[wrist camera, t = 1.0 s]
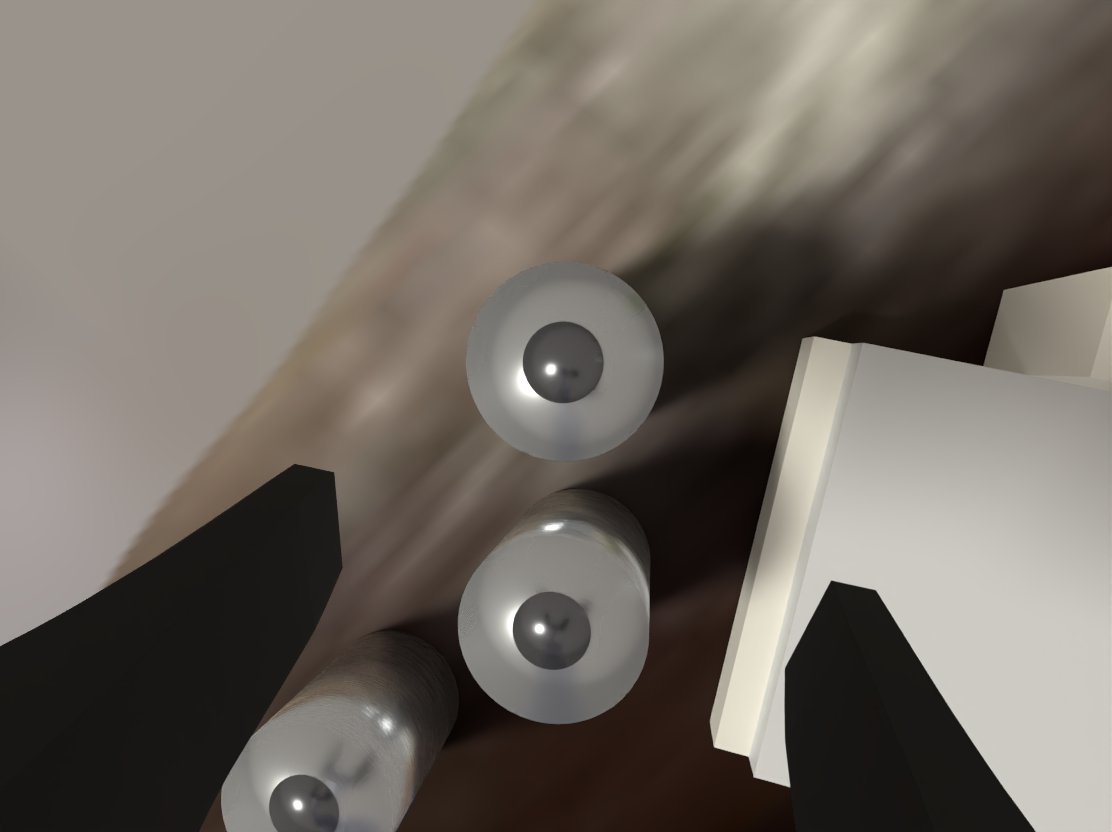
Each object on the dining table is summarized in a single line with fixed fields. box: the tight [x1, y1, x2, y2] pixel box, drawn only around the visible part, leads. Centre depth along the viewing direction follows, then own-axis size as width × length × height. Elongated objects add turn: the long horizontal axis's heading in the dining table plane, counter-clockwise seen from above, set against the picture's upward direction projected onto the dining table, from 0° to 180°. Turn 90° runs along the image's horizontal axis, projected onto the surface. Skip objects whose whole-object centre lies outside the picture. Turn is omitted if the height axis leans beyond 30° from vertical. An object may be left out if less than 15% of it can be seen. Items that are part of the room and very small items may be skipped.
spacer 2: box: [466, 262, 664, 461], centre depth 18 cm, size 4×4×6 cm
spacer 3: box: [458, 489, 650, 724], centre depth 19 cm, size 4×4×6 cm
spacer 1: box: [221, 630, 459, 832], centre depth 20 cm, size 4×4×6 cm
